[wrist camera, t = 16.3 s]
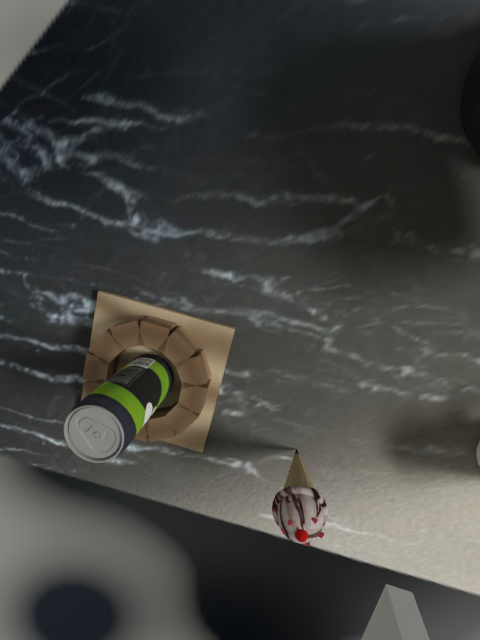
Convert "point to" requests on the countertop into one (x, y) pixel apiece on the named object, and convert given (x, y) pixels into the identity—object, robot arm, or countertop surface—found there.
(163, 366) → the beverage can
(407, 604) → the robot arm
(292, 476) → the ice cream cone
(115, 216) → the countertop surface
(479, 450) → the cup
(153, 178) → the countertop surface
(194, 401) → the holder
